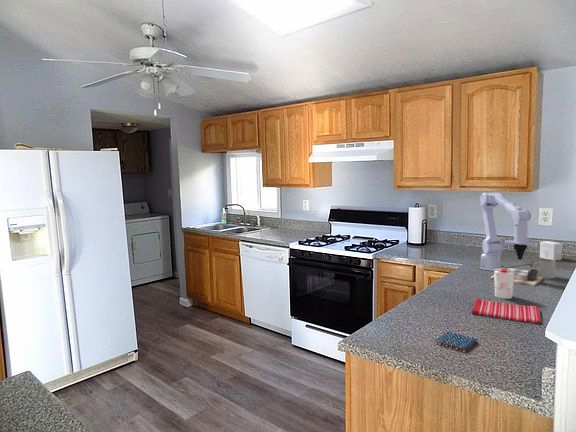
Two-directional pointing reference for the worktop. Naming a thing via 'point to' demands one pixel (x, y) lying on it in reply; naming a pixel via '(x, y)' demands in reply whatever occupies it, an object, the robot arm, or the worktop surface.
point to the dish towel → (507, 311)
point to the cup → (546, 268)
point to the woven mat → (456, 341)
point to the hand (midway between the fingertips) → (520, 259)
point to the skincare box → (550, 250)
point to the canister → (503, 282)
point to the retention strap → (519, 265)
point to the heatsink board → (532, 283)
